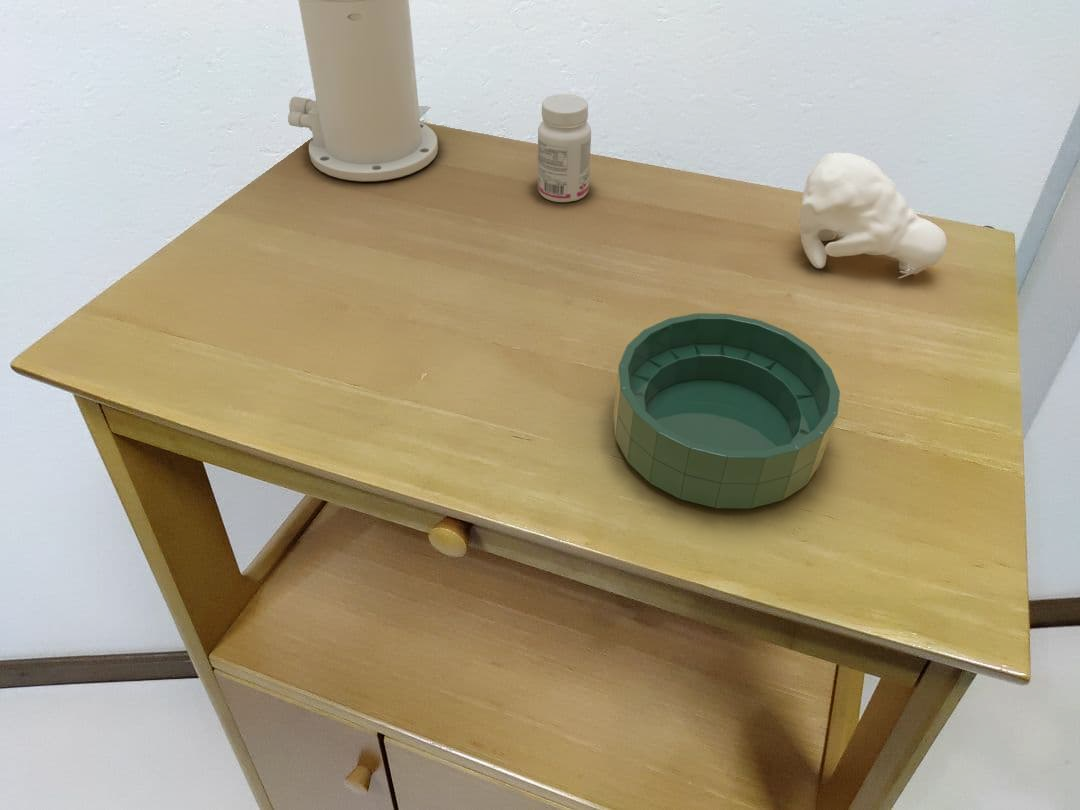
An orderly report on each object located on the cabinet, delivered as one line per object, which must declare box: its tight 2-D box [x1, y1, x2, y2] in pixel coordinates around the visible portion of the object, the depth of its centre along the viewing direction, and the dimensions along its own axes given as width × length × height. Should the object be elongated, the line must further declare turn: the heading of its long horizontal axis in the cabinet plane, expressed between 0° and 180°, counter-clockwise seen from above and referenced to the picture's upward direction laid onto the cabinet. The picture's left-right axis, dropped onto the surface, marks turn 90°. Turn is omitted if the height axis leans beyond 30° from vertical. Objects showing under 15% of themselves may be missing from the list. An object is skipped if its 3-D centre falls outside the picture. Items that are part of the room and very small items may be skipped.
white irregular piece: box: [797, 152, 947, 279], centre depth 66 cm, size 6×8×12 cm
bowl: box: [612, 312, 841, 510], centre depth 52 cm, size 13×13×5 cm
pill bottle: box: [537, 93, 592, 203], centre depth 74 cm, size 5×5×8 cm
